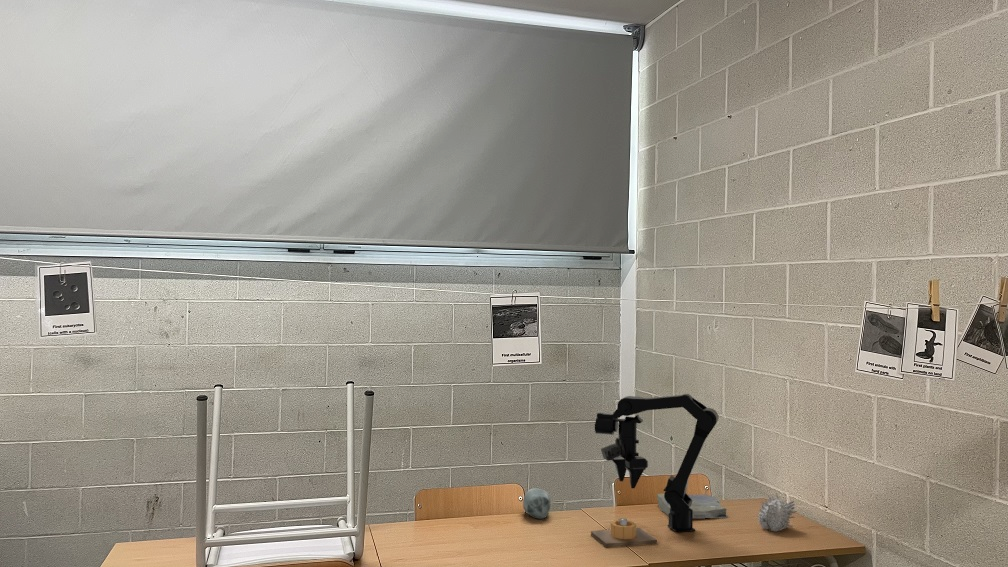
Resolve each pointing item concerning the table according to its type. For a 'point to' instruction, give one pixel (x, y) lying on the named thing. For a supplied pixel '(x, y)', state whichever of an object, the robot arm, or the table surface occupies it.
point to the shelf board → (611, 541)
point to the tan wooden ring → (623, 530)
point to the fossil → (698, 506)
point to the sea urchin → (775, 514)
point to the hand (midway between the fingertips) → (627, 484)
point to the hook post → (623, 521)
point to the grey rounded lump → (537, 503)
